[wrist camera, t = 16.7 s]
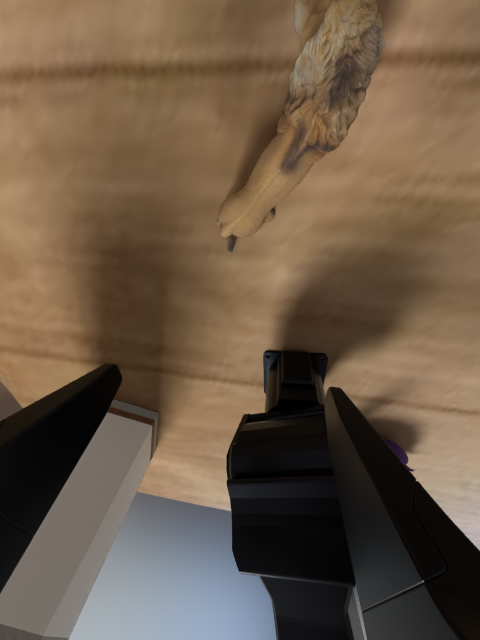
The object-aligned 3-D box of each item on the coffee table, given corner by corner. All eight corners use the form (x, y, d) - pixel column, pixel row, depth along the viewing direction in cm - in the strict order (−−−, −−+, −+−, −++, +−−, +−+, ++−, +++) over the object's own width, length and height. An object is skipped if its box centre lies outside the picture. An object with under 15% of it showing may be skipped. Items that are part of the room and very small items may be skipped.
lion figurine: (302, 37, 12) (325, -112, 6) (365, 89, 13) (445, 6, 6) (209, 236, 18) (173, 266, 12) (254, 264, 19) (241, 305, 13)
